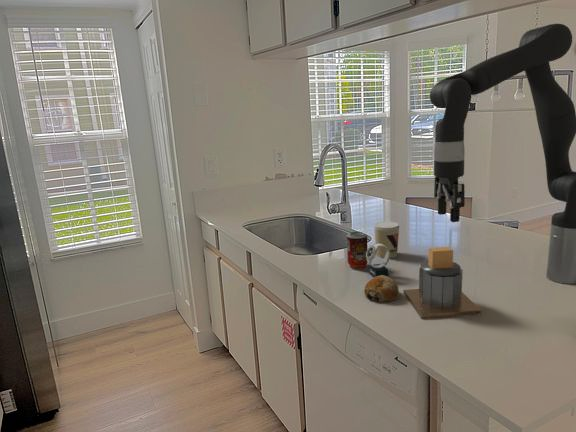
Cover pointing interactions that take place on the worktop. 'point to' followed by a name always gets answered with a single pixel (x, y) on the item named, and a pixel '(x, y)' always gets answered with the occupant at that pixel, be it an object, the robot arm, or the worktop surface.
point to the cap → (440, 263)
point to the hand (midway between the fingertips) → (448, 217)
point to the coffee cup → (386, 238)
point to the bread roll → (381, 289)
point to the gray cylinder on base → (440, 297)
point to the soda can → (357, 250)
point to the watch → (377, 268)
